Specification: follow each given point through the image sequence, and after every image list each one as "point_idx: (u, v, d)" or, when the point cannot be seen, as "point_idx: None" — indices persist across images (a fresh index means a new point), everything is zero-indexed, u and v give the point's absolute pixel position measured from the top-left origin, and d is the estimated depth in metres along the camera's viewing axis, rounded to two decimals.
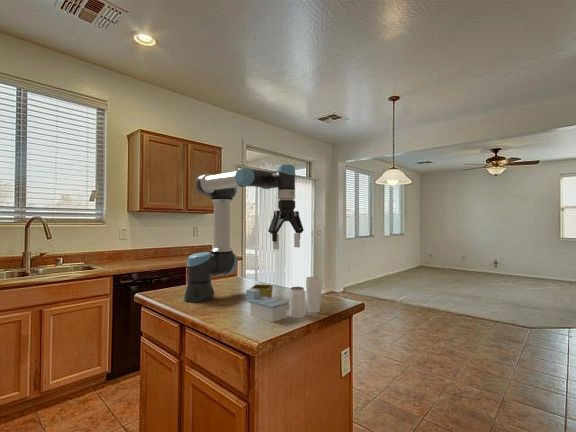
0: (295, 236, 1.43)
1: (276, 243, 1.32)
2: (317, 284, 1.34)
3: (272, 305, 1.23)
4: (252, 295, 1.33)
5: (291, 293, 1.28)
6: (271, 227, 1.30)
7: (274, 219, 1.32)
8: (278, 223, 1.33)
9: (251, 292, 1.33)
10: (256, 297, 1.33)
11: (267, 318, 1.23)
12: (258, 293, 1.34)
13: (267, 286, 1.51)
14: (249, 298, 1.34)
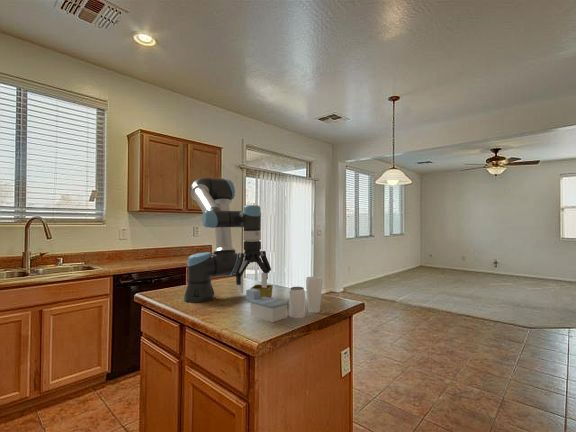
0: (262, 276, 1.41)
1: (240, 286, 1.30)
2: (317, 284, 1.34)
3: (272, 305, 1.23)
4: (252, 295, 1.33)
5: (291, 293, 1.28)
6: (235, 270, 1.29)
7: (238, 262, 1.30)
8: (243, 265, 1.32)
9: (251, 292, 1.33)
10: (256, 297, 1.33)
11: (267, 318, 1.23)
12: (258, 293, 1.34)
13: (267, 286, 1.51)
14: (249, 298, 1.34)
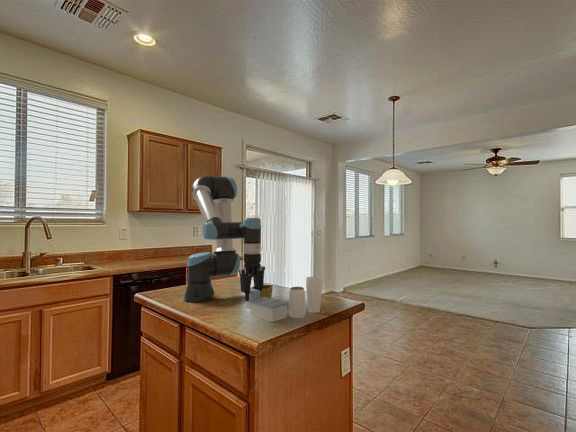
0: None
1: None
2: (317, 284, 1.34)
3: (272, 305, 1.23)
4: (252, 295, 1.33)
5: (291, 293, 1.28)
6: (242, 288, 1.32)
7: (242, 279, 1.31)
8: (247, 281, 1.34)
9: (251, 292, 1.33)
10: (256, 297, 1.33)
11: (267, 318, 1.23)
12: (258, 293, 1.34)
13: (267, 286, 1.51)
14: None
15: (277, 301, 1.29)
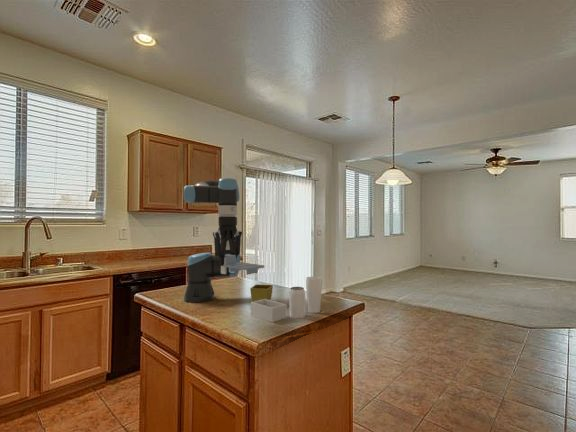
0: None
1: (223, 267, 1.26)
2: (317, 284, 1.34)
3: (246, 267, 1.16)
4: (227, 259, 1.26)
5: (291, 293, 1.28)
6: (216, 251, 1.25)
7: (216, 242, 1.24)
8: (222, 245, 1.27)
9: (226, 257, 1.26)
10: (231, 262, 1.26)
11: (267, 318, 1.23)
12: (234, 258, 1.27)
13: (267, 286, 1.51)
14: None
15: (253, 265, 1.22)
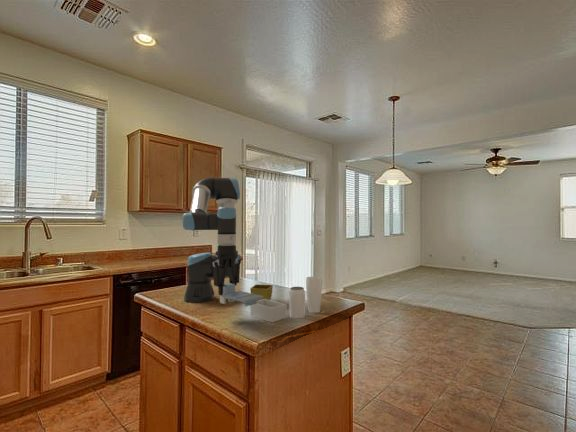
0: None
1: (222, 297, 1.26)
2: (317, 284, 1.34)
3: (245, 299, 1.15)
4: (226, 289, 1.25)
5: (291, 293, 1.28)
6: (215, 281, 1.24)
7: (215, 272, 1.24)
8: (221, 274, 1.26)
9: (225, 286, 1.26)
10: (230, 291, 1.26)
11: (267, 318, 1.23)
12: (233, 287, 1.27)
13: (267, 286, 1.51)
14: None
15: (252, 295, 1.21)
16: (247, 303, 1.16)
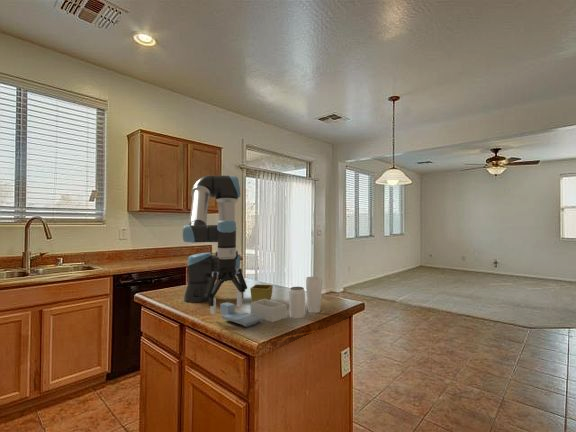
0: (237, 295, 1.33)
1: (213, 307, 1.23)
2: (317, 284, 1.34)
3: (245, 322, 1.15)
4: (226, 309, 1.26)
5: (291, 293, 1.28)
6: (207, 291, 1.21)
7: (210, 282, 1.23)
8: (216, 285, 1.24)
9: (225, 306, 1.26)
10: (230, 312, 1.26)
11: (267, 318, 1.23)
12: (233, 307, 1.27)
13: (267, 286, 1.51)
14: (223, 313, 1.27)
15: (252, 316, 1.21)
16: (247, 325, 1.16)
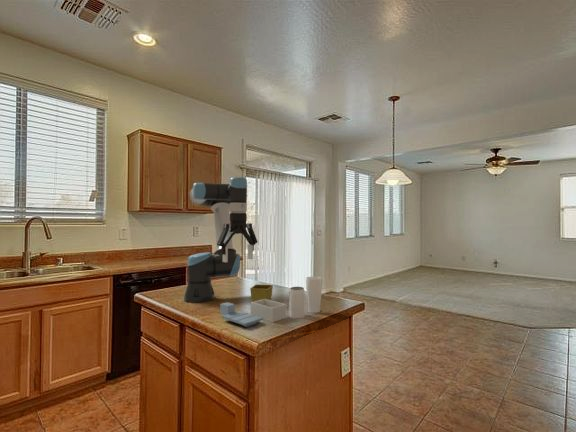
0: (248, 248, 1.44)
1: (225, 256, 1.33)
2: (317, 284, 1.34)
3: (245, 322, 1.15)
4: (226, 309, 1.26)
5: (291, 293, 1.28)
6: (219, 240, 1.32)
7: (223, 232, 1.33)
8: (228, 236, 1.35)
9: (225, 306, 1.26)
10: (230, 312, 1.26)
11: (267, 318, 1.23)
12: (232, 307, 1.27)
13: (267, 286, 1.51)
14: (223, 313, 1.27)
15: (252, 316, 1.21)
16: (247, 325, 1.16)
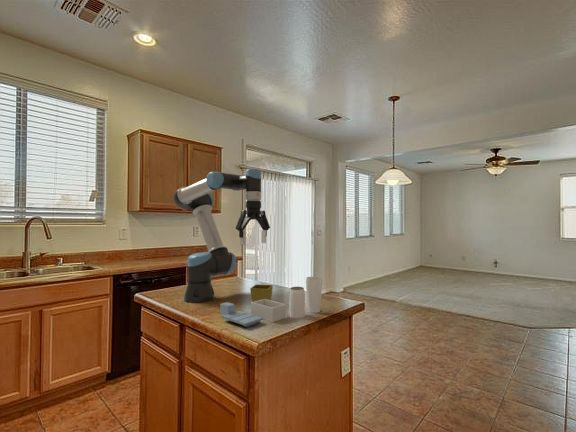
0: (262, 233, 1.59)
1: (242, 239, 1.48)
2: (317, 284, 1.34)
3: (245, 322, 1.15)
4: (226, 309, 1.26)
5: (291, 293, 1.28)
6: (238, 225, 1.47)
7: (241, 217, 1.48)
8: (245, 221, 1.50)
9: (225, 306, 1.26)
10: (230, 312, 1.26)
11: (267, 318, 1.23)
12: (232, 307, 1.27)
13: (267, 286, 1.51)
14: (223, 313, 1.27)
15: (252, 316, 1.21)
16: (247, 325, 1.16)
